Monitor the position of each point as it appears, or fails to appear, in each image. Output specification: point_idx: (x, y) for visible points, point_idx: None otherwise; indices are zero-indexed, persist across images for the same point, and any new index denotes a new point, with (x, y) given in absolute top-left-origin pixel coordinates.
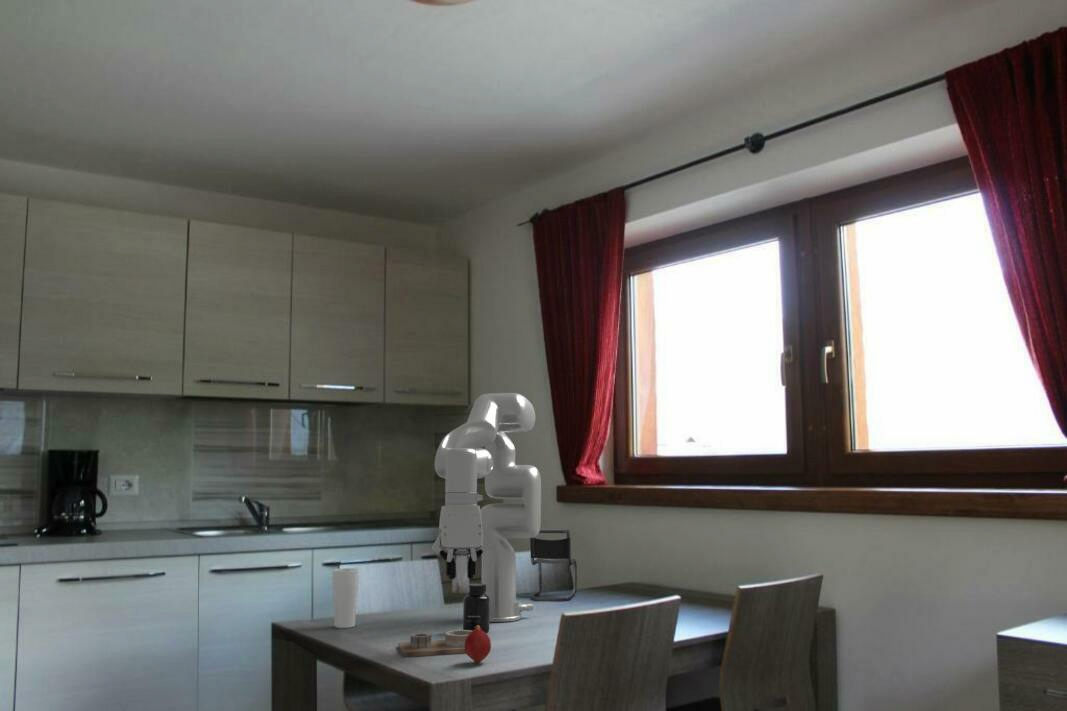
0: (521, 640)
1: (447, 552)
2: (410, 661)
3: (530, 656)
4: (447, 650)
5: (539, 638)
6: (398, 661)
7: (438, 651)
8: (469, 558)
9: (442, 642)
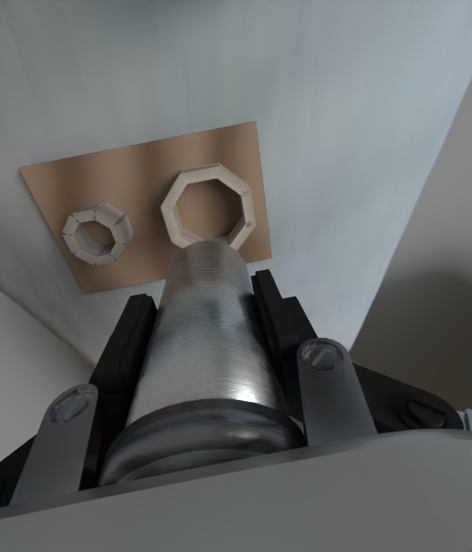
0: (384, 108)
1: (48, 484)
2: (114, 323)
3: (346, 298)
4: None
5: (445, 80)
6: (88, 322)
7: (160, 278)
8: (288, 389)
9: (156, 183)
